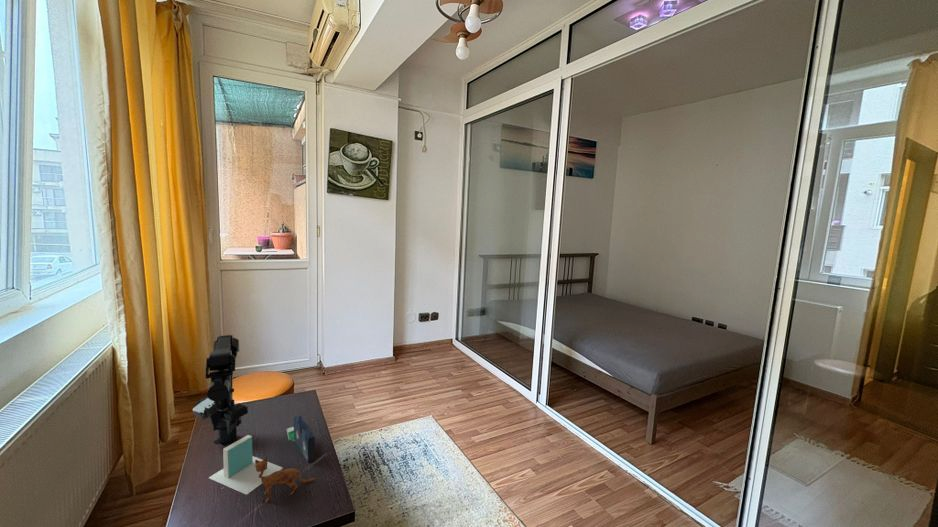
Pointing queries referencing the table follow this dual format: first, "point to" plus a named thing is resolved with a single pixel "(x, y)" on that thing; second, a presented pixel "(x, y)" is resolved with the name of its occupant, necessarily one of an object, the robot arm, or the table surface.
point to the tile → (237, 456)
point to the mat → (245, 477)
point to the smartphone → (290, 433)
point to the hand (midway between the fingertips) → (222, 430)
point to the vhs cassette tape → (304, 438)
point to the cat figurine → (278, 477)
